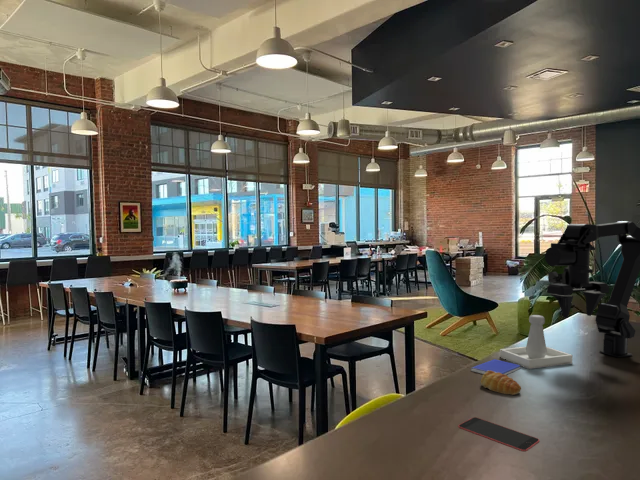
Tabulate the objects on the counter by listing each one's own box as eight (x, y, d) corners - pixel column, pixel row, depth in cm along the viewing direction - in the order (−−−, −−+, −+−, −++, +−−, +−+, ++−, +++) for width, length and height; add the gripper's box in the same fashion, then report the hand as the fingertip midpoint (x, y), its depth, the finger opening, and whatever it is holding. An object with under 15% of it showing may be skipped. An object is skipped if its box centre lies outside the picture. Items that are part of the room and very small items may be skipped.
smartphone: (524, 451, 83) (456, 425, 93) (524, 454, 83) (456, 428, 94) (541, 439, 88) (474, 416, 98) (541, 442, 88) (474, 418, 98)
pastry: (527, 392, 113) (527, 377, 113) (510, 399, 109) (510, 383, 109) (493, 381, 121) (494, 367, 120) (477, 387, 117) (477, 372, 117)
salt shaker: (525, 354, 143) (526, 313, 142) (546, 356, 140) (546, 314, 140) (526, 360, 137) (526, 316, 137) (547, 362, 135) (548, 318, 134)
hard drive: (498, 374, 123) (520, 365, 131) (471, 366, 129) (493, 358, 137) (498, 379, 123) (520, 370, 131) (470, 372, 129) (493, 363, 137)
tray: (540, 352, 147) (540, 344, 147) (572, 363, 136) (572, 355, 136) (499, 357, 142) (499, 349, 142) (528, 369, 131) (529, 360, 130)
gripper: (579, 262, 150) (578, 310, 150) (533, 263, 144) (532, 313, 144) (610, 265, 139) (609, 316, 140) (563, 267, 133) (561, 320, 134)
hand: (577, 316), depth 140 cm, fingers open, 9 cm apart
